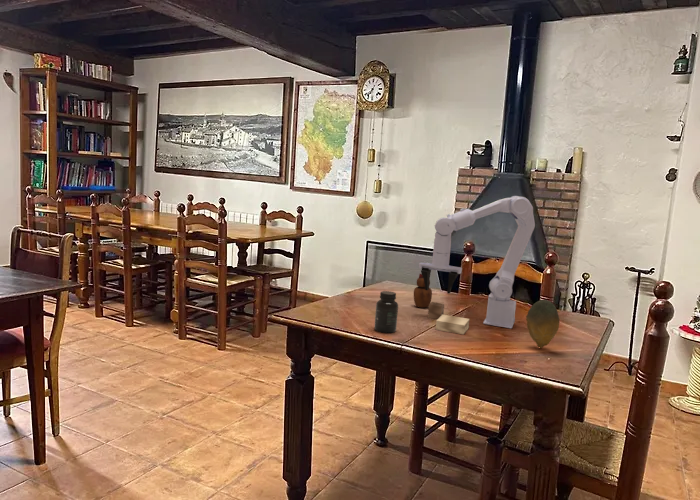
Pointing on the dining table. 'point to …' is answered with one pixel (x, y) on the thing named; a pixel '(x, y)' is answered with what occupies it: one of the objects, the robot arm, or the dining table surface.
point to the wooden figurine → (422, 293)
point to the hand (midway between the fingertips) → (437, 291)
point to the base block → (452, 324)
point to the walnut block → (435, 310)
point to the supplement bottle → (386, 313)
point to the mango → (542, 322)
